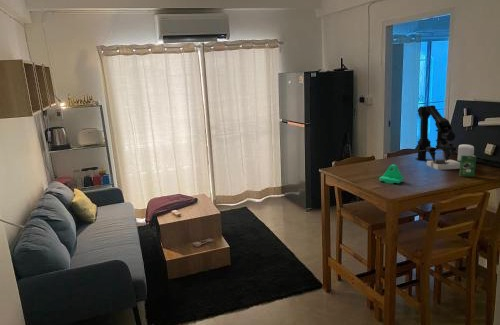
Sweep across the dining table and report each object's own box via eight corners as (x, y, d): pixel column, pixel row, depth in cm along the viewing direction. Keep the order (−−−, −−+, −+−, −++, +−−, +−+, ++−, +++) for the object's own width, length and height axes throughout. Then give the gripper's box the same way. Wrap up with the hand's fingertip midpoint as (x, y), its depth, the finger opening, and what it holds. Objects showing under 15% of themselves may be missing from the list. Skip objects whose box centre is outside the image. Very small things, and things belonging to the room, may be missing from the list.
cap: (433, 166, 258) (433, 159, 257) (441, 165, 258) (442, 158, 257) (437, 168, 252) (438, 161, 251) (446, 167, 252) (446, 160, 251)
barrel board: (426, 165, 262) (426, 160, 261) (451, 163, 263) (451, 159, 262) (437, 169, 248) (437, 165, 248) (463, 168, 249) (464, 164, 248)
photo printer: (456, 160, 271) (457, 144, 268) (458, 159, 273) (460, 143, 271) (471, 162, 263) (473, 145, 260) (474, 161, 265) (475, 144, 263)
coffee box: (473, 175, 231) (475, 155, 228) (474, 177, 228) (476, 156, 225) (458, 175, 232) (460, 155, 230) (460, 176, 230) (462, 156, 227)
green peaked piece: (378, 182, 226) (379, 165, 224) (383, 179, 232) (384, 163, 229) (398, 185, 218) (399, 168, 216) (403, 182, 224) (404, 165, 222)
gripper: (434, 141, 243) (433, 164, 246) (462, 139, 244) (460, 163, 247) (425, 138, 254) (424, 160, 257) (452, 137, 254) (450, 159, 258)
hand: (440, 161), depth 254 cm, fingers open, 8 cm apart
